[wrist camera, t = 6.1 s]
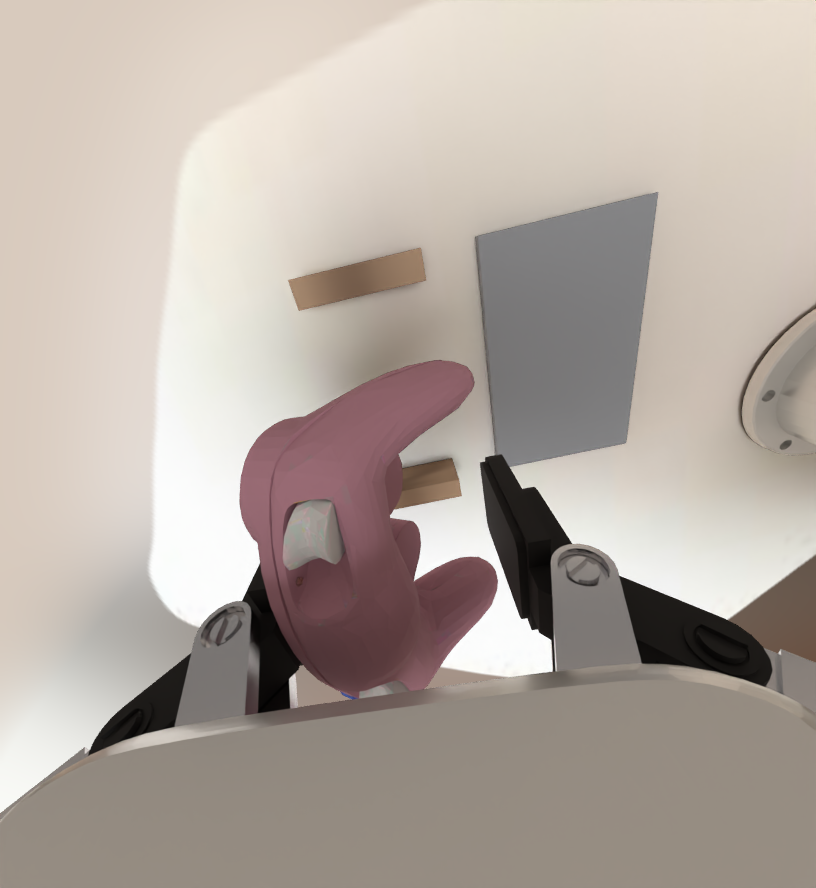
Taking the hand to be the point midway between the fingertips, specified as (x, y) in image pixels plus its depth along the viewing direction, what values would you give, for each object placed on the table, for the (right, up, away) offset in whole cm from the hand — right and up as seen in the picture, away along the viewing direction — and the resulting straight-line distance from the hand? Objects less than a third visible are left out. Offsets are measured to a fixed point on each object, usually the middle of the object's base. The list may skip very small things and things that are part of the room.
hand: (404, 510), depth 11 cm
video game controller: (0, +1, +1) cm, 1 cm away
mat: (+11, +9, +11) cm, 17 cm away
